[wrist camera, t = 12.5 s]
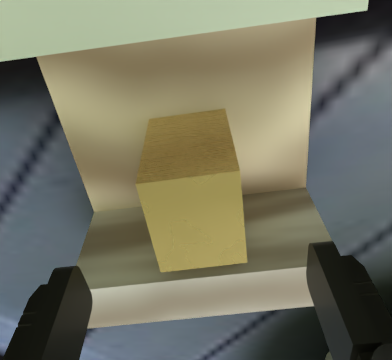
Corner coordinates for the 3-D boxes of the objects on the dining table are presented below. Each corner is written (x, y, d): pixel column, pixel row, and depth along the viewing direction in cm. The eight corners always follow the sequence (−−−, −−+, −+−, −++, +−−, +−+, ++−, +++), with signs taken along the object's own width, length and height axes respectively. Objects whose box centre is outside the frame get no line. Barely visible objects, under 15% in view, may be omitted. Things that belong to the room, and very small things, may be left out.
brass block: (148, 119, 18) (135, 184, 13) (225, 108, 18) (240, 170, 13) (166, 195, 21) (160, 272, 16) (232, 186, 21) (247, 262, 16)
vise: (-84, -323, 11) (-421, -655, 5) (325, -404, 11) (526, -902, 4) (111, 231, 25) (85, 328, 18) (297, 210, 24) (336, 303, 18)
